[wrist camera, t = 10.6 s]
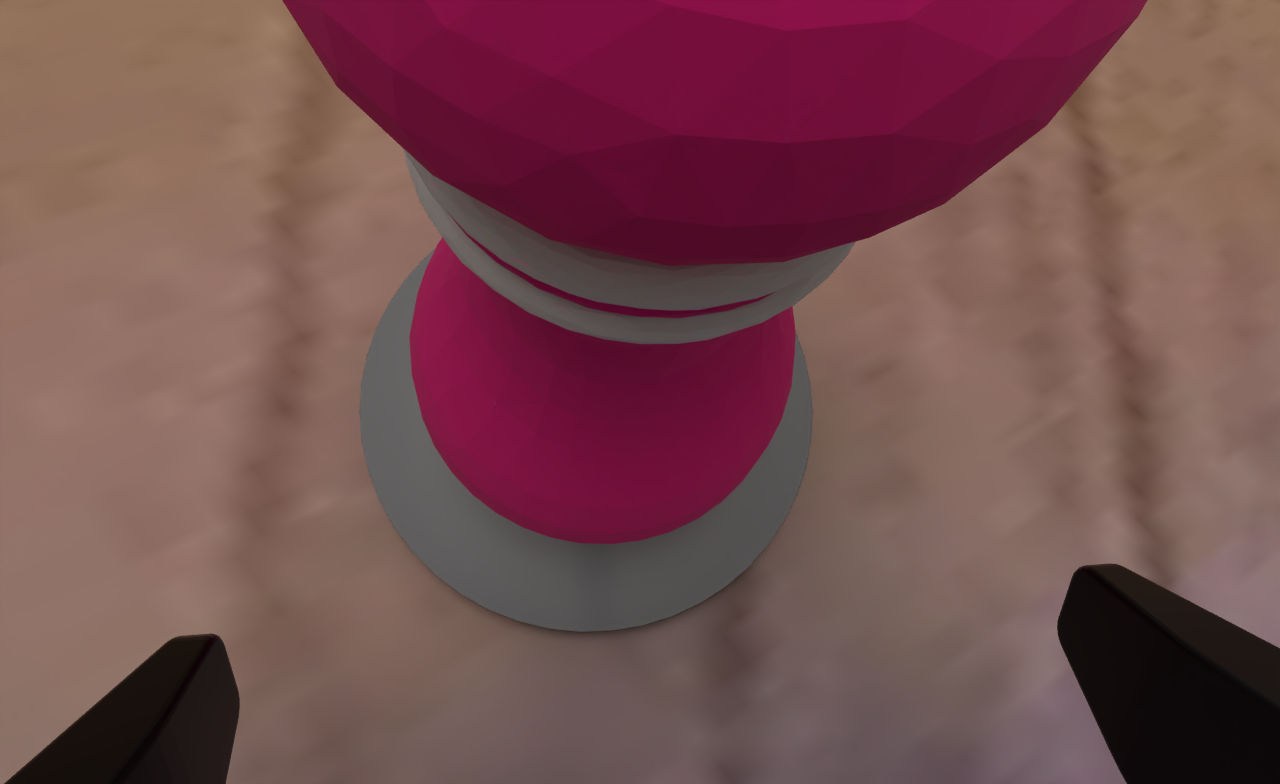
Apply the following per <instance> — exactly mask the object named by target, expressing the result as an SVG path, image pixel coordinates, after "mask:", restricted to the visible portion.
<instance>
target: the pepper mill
mask: <svg viewBox="0 0 1280 784" xmlns="http://www.w3.org/2000/svg"><path fill="white" fill-rule="evenodd" d="M283 2H284V4H285V5H286V7H287V8H288V10H289V11H290V13H291V15H292V16H293V18H294V19H295V21H296V22H297V24H298V26H299V27H300V29H301V30H302V32H303V34H304V35H305V37H306V38H307V40H308V41H309V43H310V45H311V46H312V48H313V49H314V51H315V53H316V54H317V56H318V57H319V59H320V60H321V62H322V64H323V65H324V67H325V68H326V70H327V72H328V73H329V75H330V76H331V78H332V79H333V81H334V83H335V84H336V86H337V87H338V88H339V89H340V90H341V91H342V92H343V93H345V94H346V95H347V96H348V97H349V98H350V99H351V100H352V101H353V102H354V103H355V104H356V105H357V106H359V107H360V108H361V109H362V110H363V111H364V112H365V113H366V114H367V115H368V116H369V117H370V118H371V119H373V120H374V121H375V122H376V123H377V124H378V125H379V126H380V127H381V128H382V129H383V130H384V131H385V132H386V133H388V134H389V135H390V136H391V137H392V138H393V139H394V140H395V141H396V142H397V143H398V144H399V145H400V146H402V147H403V148H404V152H405V157H406V163H407V166H408V169H409V172H410V175H411V178H412V180H413V183H414V186H415V189H416V192H417V195H418V197H419V200H420V202H421V204H422V206H423V207H424V209H425V211H426V213H427V214H428V216H429V218H430V219H431V221H432V222H433V224H434V225H435V227H436V228H437V230H438V231H439V233H440V234H441V236H442V239H441V240H440V242H439V243H438V245H437V247H436V249H435V251H434V253H433V255H432V257H431V259H430V261H429V263H428V265H427V267H426V270H425V273H424V276H423V278H422V281H421V284H420V287H419V290H418V293H417V298H416V303H415V309H414V314H413V319H412V324H411V329H410V335H409V340H410V356H411V372H412V377H413V382H414V386H415V390H416V394H417V398H418V402H419V407H420V411H421V415H422V419H423V421H424V423H425V426H426V428H427V430H428V433H429V435H430V437H431V440H432V442H433V444H434V446H435V448H436V449H437V451H438V452H439V454H440V456H441V457H442V459H443V460H444V462H445V463H446V465H447V466H448V468H449V469H450V471H451V472H452V473H453V474H454V475H455V476H456V478H457V479H458V480H459V481H460V482H461V483H462V484H463V485H464V486H465V487H466V488H467V489H468V491H469V492H470V493H471V494H472V495H474V496H475V497H476V498H477V499H479V500H480V501H481V502H483V503H484V504H485V505H486V506H488V507H489V508H490V509H492V510H493V511H494V512H495V513H497V514H499V515H501V516H503V517H504V518H506V519H508V520H510V521H512V522H514V523H515V524H517V525H519V526H521V527H523V528H526V529H528V530H531V531H534V532H537V533H540V534H542V535H545V536H548V537H551V538H555V539H560V540H565V541H570V542H576V543H587V544H617V543H625V542H633V541H641V540H644V539H648V538H651V537H655V536H658V535H662V534H665V533H669V532H671V531H673V530H675V529H677V528H680V527H682V526H684V525H686V524H688V523H690V522H692V521H694V520H696V519H698V518H700V517H701V516H702V515H704V514H705V513H707V512H708V511H709V510H711V509H712V508H714V507H715V506H717V505H718V504H719V503H721V502H722V501H723V500H724V499H725V498H726V497H727V496H728V495H729V494H730V493H731V492H732V491H733V490H734V489H735V488H736V487H737V486H738V485H739V484H740V483H741V482H742V481H743V480H744V479H745V477H746V476H747V475H748V473H749V472H750V470H751V469H752V468H753V466H754V465H755V463H756V462H757V461H758V459H759V458H760V457H761V455H762V454H763V452H764V451H765V449H766V448H767V447H768V445H769V443H770V441H771V439H772V437H773V435H774V433H775V431H776V430H777V428H778V426H779V424H780V422H781V420H782V417H783V413H784V410H785V407H786V403H787V400H788V397H789V393H790V390H791V387H792V378H793V367H794V357H795V323H794V316H793V309H792V306H793V305H795V304H796V303H797V302H799V301H800V300H801V299H803V298H804V297H805V296H806V295H808V294H809V293H810V292H811V291H813V290H814V289H815V288H816V287H817V286H819V285H820V284H821V283H822V282H823V281H824V280H826V279H827V278H828V277H829V276H830V275H831V274H832V272H833V271H834V270H835V269H836V268H837V267H838V265H839V264H840V263H841V262H842V261H843V260H844V259H845V257H846V256H847V255H848V253H849V252H850V250H851V248H852V247H853V245H854V244H855V242H856V241H859V240H862V239H866V238H869V237H872V236H874V235H876V234H878V233H880V232H883V231H885V230H887V229H889V228H892V227H894V226H896V225H898V224H901V223H903V222H905V221H907V220H909V219H912V218H914V217H916V216H918V215H921V214H923V213H925V212H927V211H929V210H932V209H934V208H936V207H938V206H941V205H943V204H945V203H946V202H947V201H948V200H950V199H951V198H952V197H954V196H955V195H956V194H958V193H959V192H960V191H962V190H963V189H964V188H965V187H967V186H968V185H969V184H971V183H972V182H973V181H975V180H976V179H977V178H979V177H980V176H981V175H982V174H984V173H985V172H986V171H988V170H989V169H990V168H992V167H993V166H994V165H996V164H997V163H998V162H999V161H1001V160H1002V159H1003V158H1005V157H1006V156H1007V155H1009V154H1010V153H1011V152H1013V151H1014V150H1015V149H1016V148H1018V147H1019V146H1020V145H1022V144H1023V143H1024V142H1026V141H1027V140H1028V139H1030V138H1031V137H1032V136H1033V135H1035V134H1036V133H1037V132H1039V131H1040V130H1041V129H1043V128H1044V127H1045V126H1046V125H1047V124H1048V123H1049V122H1050V121H1051V120H1052V118H1053V117H1054V116H1055V115H1056V114H1057V112H1058V111H1059V110H1060V109H1061V108H1062V106H1063V105H1064V104H1065V103H1066V102H1067V100H1068V99H1069V98H1070V97H1071V96H1072V94H1073V93H1074V92H1075V91H1076V90H1077V89H1078V87H1079V86H1080V85H1081V84H1082V83H1083V81H1084V80H1085V79H1086V78H1087V77H1088V75H1089V74H1090V73H1091V72H1092V71H1093V69H1094V68H1095V67H1096V66H1097V65H1098V63H1099V62H1100V61H1101V60H1102V59H1103V58H1104V56H1105V55H1106V54H1107V53H1108V52H1109V50H1110V49H1111V48H1112V47H1113V46H1114V44H1115V43H1116V42H1117V41H1118V40H1119V38H1120V37H1121V36H1122V35H1123V34H1124V32H1125V31H1126V30H1127V29H1128V28H1129V26H1130V25H1131V24H1132V23H1133V22H1134V21H1135V19H1136V18H1137V17H1138V16H1139V14H1140V12H1141V10H1142V9H1143V7H1144V5H1145V3H1146V2H1147V0H283Z"/></svg>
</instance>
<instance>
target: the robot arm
mask: <svg viewBox="0 0 1280 784" xmlns="http://www.w3.org/2000/svg"><path fill="white" fill-rule="evenodd" d="M1057 630H1058V636H1059V640H1060V643H1061V646H1062V648H1063V650H1064V652H1065V655H1066V657H1067V659H1068V661H1069V663H1070V665H1071V668H1072V670H1073V672H1074V674H1075V676H1076V678H1077V681H1078V683H1079V685H1080V687H1081V689H1082V691H1083V694H1084V696H1085V698H1086V700H1087V702H1088V705H1089V707H1090V709H1091V711H1092V713H1093V715H1094V718H1095V720H1096V722H1097V724H1098V726H1099V728H1100V731H1101V733H1102V735H1103V737H1104V739H1105V741H1106V744H1107V746H1108V748H1109V750H1110V752H1111V754H1112V756H1113V758H1114V760H1115V762H1116V764H1117V766H1118V768H1119V770H1120V772H1121V774H1122V776H1123V778H1124V779H1125V781H1126V783H1127V784H1280V648H1278V647H1276V646H1274V645H1272V644H1270V643H1269V642H1267V641H1265V640H1263V639H1261V638H1259V637H1257V636H1255V635H1253V634H1251V633H1249V632H1247V631H1246V630H1244V629H1242V628H1240V627H1238V626H1236V625H1234V624H1232V623H1230V622H1228V621H1226V620H1224V619H1223V618H1221V617H1219V616H1217V615H1215V614H1213V613H1211V612H1209V611H1207V610H1205V609H1203V608H1201V607H1200V606H1198V605H1196V604H1194V603H1192V602H1190V601H1188V600H1186V599H1184V598H1182V597H1180V596H1178V595H1177V594H1175V593H1173V592H1171V591H1169V590H1167V589H1165V588H1163V587H1161V586H1159V585H1157V584H1155V583H1154V582H1152V581H1150V580H1148V579H1146V578H1144V577H1142V576H1140V575H1138V574H1136V573H1134V572H1132V571H1131V570H1129V569H1127V568H1125V567H1123V566H1121V565H1117V564H1098V565H1086V566H1082V567H1079V568H1078V569H1077V570H1076V571H1075V572H1074V574H1073V576H1072V579H1071V582H1070V585H1069V588H1068V591H1067V594H1066V597H1065V600H1064V603H1063V606H1062V609H1061V612H1060V615H1059V618H1058V625H1057ZM239 708H240V699H239V692H238V688H237V685H236V681H235V678H234V675H233V671H232V668H231V665H230V662H229V658H228V655H227V652H226V648H225V645H224V643H223V641H222V639H221V638H220V637H219V636H217V635H215V634H200V635H187V636H178V637H175V638H173V639H171V640H169V641H168V642H166V643H165V644H164V645H163V646H162V647H161V648H159V649H158V650H157V651H156V652H155V653H154V654H153V655H151V656H150V657H149V658H148V659H147V660H146V661H144V662H143V663H142V664H141V665H140V666H139V667H138V668H136V669H135V670H134V671H133V672H132V673H131V674H130V675H128V676H127V677H126V678H125V679H124V680H123V681H121V682H120V683H119V684H118V685H117V686H116V687H115V688H113V689H112V690H111V691H110V692H109V693H108V694H107V695H105V696H104V697H103V698H102V699H101V700H100V701H98V702H97V703H96V704H95V705H94V706H93V707H92V708H90V709H89V710H88V711H87V712H86V713H85V714H84V715H82V716H81V717H80V718H79V719H78V720H77V721H75V722H74V723H73V724H72V725H71V726H70V727H69V728H67V729H66V730H65V731H64V732H63V733H62V734H61V735H59V736H58V737H57V738H56V739H55V740H54V741H52V742H51V743H50V744H49V745H48V746H47V747H46V748H44V749H43V750H42V751H41V752H40V753H39V754H38V755H36V756H35V757H34V758H33V759H32V760H31V761H30V762H28V763H27V764H26V765H25V766H24V767H23V768H21V769H20V770H19V771H18V772H17V773H16V774H15V775H13V776H12V777H11V778H10V779H9V780H8V781H7V782H5V783H4V784H226V779H227V774H228V769H229V764H230V759H231V753H232V748H233V743H234V738H235V733H236V728H237V723H238V717H239Z"/></svg>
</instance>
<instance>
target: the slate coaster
mask: <svg viewBox="0 0 1280 784" xmlns="http://www.w3.org/2000/svg"><path fill="white" fill-rule="evenodd" d="M434 251H435V250H433V251H432V252H431V253H430V254H429V255H428V256H426V257H425V258H424V259H423V260H422V261H421V263H420V264H419V265H418V266H417V267H416V268H415V269H414V270H413V271H412V273H411V274H410V275H409V276H408V277H407V278H406V279H405V281H404V282H403V284H402V285H401V287H400V288H399V289H398V291H397V292H396V294H395V295H394V297H393V298H392V300H391V301H390V302H389V304H388V306H387V308H386V310H385V312H384V314H383V316H382V318H381V320H380V322H379V324H378V326H377V328H376V331H375V334H374V337H373V340H372V342H371V345H370V348H369V351H368V354H367V358H366V363H365V368H364V373H363V378H362V383H361V398H360V424H361V437H362V445H363V449H364V454H365V458H366V463H367V467H368V472H369V474H370V477H371V480H372V482H373V485H374V488H375V490H376V493H377V496H378V498H379V501H380V503H381V504H382V506H383V508H384V510H385V512H386V514H387V515H388V517H389V519H390V521H391V523H392V524H393V526H394V528H395V529H396V530H397V532H398V533H399V535H400V536H401V537H402V539H403V540H404V541H405V543H406V544H407V545H408V547H409V548H410V549H411V551H412V552H413V553H414V554H415V555H416V556H417V557H418V558H419V559H420V560H421V561H422V562H423V563H424V564H425V565H426V566H427V567H428V568H429V569H430V570H431V571H432V572H433V573H434V574H435V575H436V576H438V577H439V578H440V579H441V580H443V581H444V582H445V583H447V584H448V585H449V586H451V587H452V588H453V589H455V590H456V591H457V592H458V593H460V594H462V595H463V596H465V597H467V598H469V599H471V600H472V601H474V602H476V603H478V604H479V605H481V606H483V607H485V608H486V609H489V610H491V611H494V612H496V613H499V614H501V615H504V616H506V617H509V618H511V619H514V620H516V621H520V622H524V623H528V624H532V625H536V626H540V627H544V628H548V629H557V630H567V631H576V632H585V631H612V630H618V629H624V628H630V627H636V626H642V625H645V624H649V623H652V622H655V621H658V620H662V619H665V618H668V617H671V616H674V615H676V614H678V613H680V612H682V611H684V610H686V609H689V608H691V607H693V606H695V605H697V604H699V603H701V602H703V601H704V600H706V599H707V598H709V597H710V596H712V595H713V594H715V593H717V592H718V591H720V590H721V589H723V588H724V587H726V586H727V585H728V584H729V583H730V582H732V581H733V580H734V579H735V578H736V577H737V576H739V575H740V574H741V573H742V572H743V571H744V570H746V569H747V568H748V567H749V566H750V565H751V564H752V563H753V561H754V560H755V559H756V558H757V557H758V556H759V555H760V553H761V552H762V551H763V550H764V549H765V548H766V547H767V545H768V544H769V543H770V541H771V540H772V538H773V537H774V535H775V534H776V532H777V531H778V529H779V528H780V526H781V525H782V523H783V522H784V520H785V518H786V516H787V514H788V512H789V510H790V508H791V506H792V504H793V502H794V500H795V498H796V496H797V493H798V490H799V487H800V484H801V481H802V478H803V475H804V472H805V469H806V465H807V459H808V454H809V448H810V443H811V432H812V400H811V388H810V381H809V376H808V371H807V367H806V362H805V358H804V354H803V352H802V349H801V346H800V343H799V340H798V338H797V335H796V332H795V357H794V367H793V378H792V387H791V390H790V393H789V397H788V400H787V403H786V407H785V410H784V413H783V417H782V420H781V422H780V424H779V426H778V428H777V430H776V431H775V433H774V435H773V437H772V439H771V441H770V443H769V445H768V447H767V448H766V449H765V451H764V452H763V454H762V455H761V457H760V458H759V459H758V461H757V462H756V463H755V465H754V466H753V468H752V469H751V470H750V472H749V473H748V475H747V476H746V477H745V479H744V480H743V481H742V482H741V483H740V484H739V485H738V486H737V487H736V488H735V489H734V490H733V491H732V492H731V493H730V494H729V495H728V496H727V497H726V498H725V499H724V500H723V501H722V502H721V503H719V504H718V505H717V506H715V507H714V508H712V509H711V510H709V511H708V512H707V513H705V514H704V515H702V516H701V517H700V518H698V519H696V520H694V521H692V522H690V523H688V524H686V525H684V526H682V527H680V528H677V529H675V530H673V531H671V532H669V533H665V534H662V535H658V536H655V537H651V538H648V539H644V540H641V541H633V542H625V543H617V544H587V543H576V542H570V541H565V540H560V539H555V538H551V537H548V536H545V535H542V534H540V533H537V532H534V531H531V530H528V529H526V528H523V527H521V526H519V525H517V524H515V523H514V522H512V521H510V520H508V519H506V518H504V517H503V516H501V515H499V514H497V513H495V512H494V511H493V510H492V509H490V508H489V507H488V506H486V505H485V504H484V503H483V502H481V501H480V500H479V499H477V498H476V497H475V496H474V495H472V494H471V493H470V492H469V491H468V489H467V488H466V487H465V486H464V485H463V484H462V483H461V482H460V481H459V480H458V479H457V478H456V476H455V475H454V474H453V473H452V472H451V471H450V469H449V468H448V466H447V465H446V463H445V462H444V460H443V459H442V457H441V456H440V454H439V452H438V451H437V449H436V448H435V446H434V444H433V442H432V440H431V437H430V435H429V433H428V430H427V428H426V426H425V423H424V421H423V419H422V415H421V411H420V407H419V402H418V398H417V394H416V390H415V386H414V382H413V377H412V372H411V356H410V340H409V335H410V329H411V324H412V319H413V314H414V309H415V303H416V298H417V293H418V290H419V287H420V284H421V281H422V278H423V276H424V273H425V270H426V267H427V265H428V263H429V261H430V259H431V257H432V255H433V253H434Z"/></svg>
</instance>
